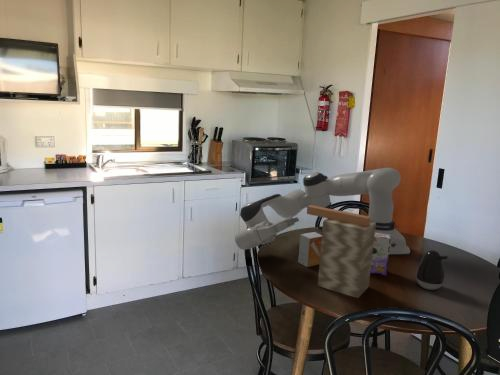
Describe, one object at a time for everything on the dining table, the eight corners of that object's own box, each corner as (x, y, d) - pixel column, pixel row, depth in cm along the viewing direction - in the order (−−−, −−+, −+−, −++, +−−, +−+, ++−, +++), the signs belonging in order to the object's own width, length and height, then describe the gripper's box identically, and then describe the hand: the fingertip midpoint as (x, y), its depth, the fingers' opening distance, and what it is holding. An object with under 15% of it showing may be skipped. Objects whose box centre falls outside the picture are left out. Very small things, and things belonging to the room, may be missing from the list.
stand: (317, 285, 162) (323, 221, 157) (330, 275, 172) (335, 214, 166) (358, 298, 154) (365, 230, 148) (368, 286, 164) (376, 222, 158)
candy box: (386, 270, 180) (391, 234, 176) (386, 276, 174) (391, 238, 171) (353, 265, 184) (357, 229, 180) (352, 270, 178) (356, 233, 175)
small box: (307, 267, 179) (309, 238, 176) (297, 262, 184) (299, 234, 181) (321, 264, 183) (324, 235, 181) (311, 259, 189) (314, 231, 186)
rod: (306, 213, 165) (307, 206, 164) (310, 212, 168) (310, 205, 167) (366, 226, 152) (367, 218, 152) (369, 224, 155) (370, 216, 154)
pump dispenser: (437, 295, 159) (443, 257, 155) (410, 286, 165) (415, 249, 162) (447, 287, 166) (452, 251, 163) (420, 279, 173) (425, 243, 169)
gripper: (281, 232, 187) (306, 223, 179) (256, 245, 170) (283, 235, 163) (275, 219, 188) (300, 209, 180) (250, 230, 171) (276, 220, 163)
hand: (292, 221), depth 171 cm, fingers open, 8 cm apart
